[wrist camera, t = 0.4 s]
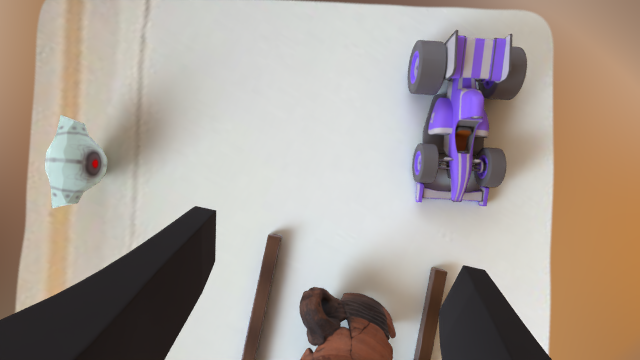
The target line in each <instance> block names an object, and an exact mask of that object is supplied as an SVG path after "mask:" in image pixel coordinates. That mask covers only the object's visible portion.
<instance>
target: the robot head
mask: <svg viewBox="0 0 640 360" xmlns="http://www.w3.org/2000/svg"><path fill="white" fill-rule="evenodd" d="M106 169H107V158H106V156H105V154H104V152H103V150H102V148H101V147H100V146H99V145H98V144H97V143H96V142H95V141H94V140H93V139H92V138H91V137H90V136H89V134H88V132H87V129H86V126H85V124H84V123H81V122H78V121H76V120H73V119H70V118H68V117H65V116H62V115H61V116H60V120H59V125H58V129H57V133H56V135H55V138H54V140H53V142H52V144H51V145H50V147H49V148H48V150H47V152H46V159H45V170H46V173H47V176H48V178H49V182H50V187H51V200H52V208H55V207H60V206H65V205H70V204H75V203H78V201H79V199H80V198H81V196H82V194H83V193H84V192H85V191H87V190H88V189H90V188H91V187H93V186H94V185H96V184H97V183H99V182H100V180H101V179H102V178H103V177H104V175H105V174H106Z"/></svg>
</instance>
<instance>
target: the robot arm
mask: <svg viewBox="0 0 640 360" xmlns="http://www.w3.org/2000/svg"><path fill="white" fill-rule="evenodd" d="M215 244H216V210H211V209H207V208H202V207H198V206H195V207H193V208H192V209H190V210H189V211H188V212H186V213H185V214H183V215H182V216H181V217H179V218H178V219H176V220H175V221H174V222H172V223H171V224H170V225H168V226H167V227H165V228H164V229H163V230H161V231H160V232H158V233H157V234H156V235H154V236H153V237H151V238H150V239H148V240H147V241H145V242H144V243H142V244H141V245H139V246H138V247H136V248H135V249H133V250H132V251H130V252H129V253H127V254H126V255H124V256H122V257H121V258H119V259H118V260H116V261H114V262H113V263H111V264H109V265H108V266H106V267H105V268H103V269H101V270H100V271H98V272H96V273H94V274H93V275H91V276H89V277H87V278H86V279H84V280H82V281H80V282H78V283H77V284H75V285H73V286H71V287H69V288H67V289H65V290H63V291H61V292H60V293H58V294H56V295H54V296H51V297H49V298H47V299H45V300H43V301H41V302H39V303H36V304H34V305H32V306H30V307H28V308H25V309H23V310H21V311H19V312H17V313H15V314H12V315H10V316H8V317H6V318H4V319H1V320H0V360H164V359H165V358H166V356H167V354H168V352H169V351H170V349H171V347H172V345H173V343H174V342H175V340H176V338H177V336H178V335H179V333H180V331H181V329H182V328H183V326H184V324H185V322H186V321H187V319H188V317H189V315H190V313H191V312H192V310H193V308H194V306H195V304H196V303H197V301H198V299H199V297H200V295H201V294H202V292H203V289H204V287H205V285H206V282H207V280H208V278H209V275H210V273H211V270H212V268H213V265H214V263H215ZM439 334H440V349H441V356H442V360H552V359H551V358H550V357H549V356H548V354H547V353H546V352H545V351H544V349H543V348H542V347H541V346H540V344H539V343H538V342H537V340H536V339H535V338H534V336H533V335H532V334H531V332H530V331H529V330H528V328H527V327H526V326H525V324H524V323H523V322H522V320H521V319H520V318H519V316H518V315H517V314H516V312H515V311H514V309H513V308H512V307H511V305H510V304H509V303H508V301H507V300H506V298H505V297H504V296H503V294H502V293H501V291H500V290H499V289H498V287H497V286H496V284H495V283H494V282H493V280H492V279H491V278H490V276H489V275H488V274H487V272H486V271H485V270H482V269H478V268H473V267H469V266H464V265H463V267H462V269H461V271H460V272H459V274H458V276H457V278H456V280H455V282H454V284H453V286H452V288H451V289H450V291H449V293H448V295H447V297H446V299H445V301H444V303H443V305H442V306H441V308H440V310H439Z"/></svg>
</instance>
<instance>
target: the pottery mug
mask: <svg viewBox="0 0 640 360" xmlns="http://www.w3.org/2000/svg"><path fill="white" fill-rule="evenodd" d="M300 315H301V318H302V321H303V323H304V325H305V327H306V328H307V337H308V341H309V343H310V344H311V345H314V346H316V345H318V347H317V348H316V351H315V352H314V353H313V351H312V350H311V348H307V349H306V351H305V353H304V354H303V356H302V358H301V359H300V360H392V359H393V356H392V355H393V349H392V346H391V345H390V343H389V342H388V340H389V339H390V338H389V334H390V337H391V338H394V337H395V336H396V333H395V329H394V326H393V323H392V319H391V316H390V314H389V313H388V311H387V310H386V309H385V308H384V307H383V306H382V305H381V304H380V303H379V302H377V301H376V300H374V299H373V298H370V297H368V296H366V295H363V294H358V293H345V294H343V297H342V298H341V300H339V299H337V298H335V297H333V296H332V295H331V294H329V292H328V291H327V290H325V289H323V288H318V287H313V288H310V289H309V290H308V291H305V292H304V293H303V296H302V298H301V301H300ZM345 319H346V320H347V322H348V326H349V329H348V328H346V327H340V325H341V324H340V322H342V321H343V320H345Z"/></svg>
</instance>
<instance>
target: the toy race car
mask: <svg viewBox="0 0 640 360" xmlns="http://www.w3.org/2000/svg"><path fill="white" fill-rule="evenodd" d="M526 69H527V58H526V54H525V52H524V50H523V49H522V48H520V47H512V34H509V35H508V36H507V37H506V38H505V39H502V38H495V39H494V40H493V39H478V38H466V36H458V30H456V31H455V32H454V33H453V34H452V35H451V37H450V38H449V39H448V40H447V41H446V42H445V44H444V43H443V42H438V41H424V40H418V41H417V42H416V43H415V45H414V47H413V50H412V53H411V57H410V61H409V68H408V87H409V91H410V93H412V94H424V95H435V94H437V93H438V91H439V89H440V87H441V85H442V82H443V79H445V80H449V82H448V89H447V95H442V94H437V95H435V96H434V97H433V100H432V103H431V106H430V110H429V113H428V116H427V119H426V122H425V126H424V130H423V141H422V144H421V143H420V144H418V145H417V147H416V149H415V152H414V156H413V165H412V169H413V177H414V180H415V181H416V182H417V188H416V202H422V198H434V199H451V200H452V201H453V202H461V201H462V200H467V201H479V205H480V206H487V199H488V193H489V188H488V187H497V186H499V185H500V184H501V183H502V181H503V179H504V177H505V173H506V158H505V154H504V152H503V151H502V150H501V149H498V148H483V143H484V138H487V137H488V132H489V123H488V118H487V114H486V112H485V110H484V98H486V99H500V100H510V99H512V98H514V97H515V96H516V95H517V94H518V92H519V91H520V89H521V87H522V85H523V82H524V79H525V75H526ZM475 78H477V79H475ZM476 81H479V89H480V90H478V89H476ZM438 153H446V154H447V155H448V156H446V158H444V159H445V160H439V155H438ZM473 155H477V156H476V159H475V160H473ZM439 162H446V164H441V163H439ZM472 164H474V165H472ZM438 165H439V166H441V165H446V166H447V167H438ZM472 167H473V168H474V169H472ZM438 169H447V174H448V178H450V179H451V180H450V183H451V192H449V191H435V190H431V189H429V188H426V187H424V184H423V183H432V182H433V181H434V180H435V178H436V175H437V171H438ZM471 171H474V176H475V180H476V182H477V184H478V185H479V186H480V189H479V190H477V191H472V192H465V190H466V187H467V185H468V182H469V179H470V175H471Z"/></svg>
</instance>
